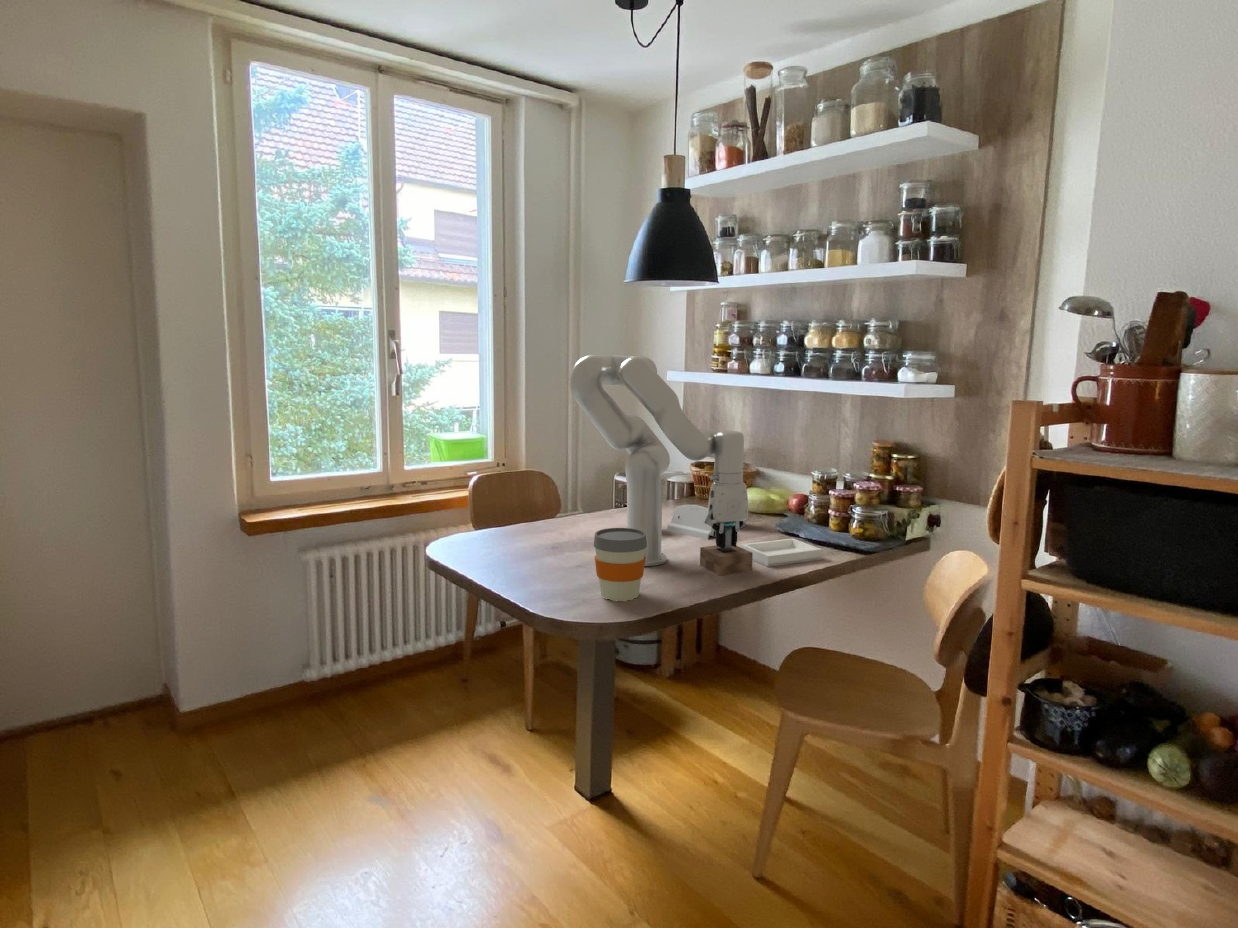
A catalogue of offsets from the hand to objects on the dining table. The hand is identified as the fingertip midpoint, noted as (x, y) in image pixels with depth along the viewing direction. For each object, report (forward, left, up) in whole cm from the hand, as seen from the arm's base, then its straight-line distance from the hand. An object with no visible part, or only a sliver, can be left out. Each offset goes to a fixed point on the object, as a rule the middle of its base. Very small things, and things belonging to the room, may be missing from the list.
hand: (726, 545), depth 199 cm
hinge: (+11, +37, -7) cm, 39 cm away
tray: (+20, +3, -6) cm, 21 cm away
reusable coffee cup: (-35, -9, -6) cm, 37 cm away
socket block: (0, 0, -6) cm, 6 cm away
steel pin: (0, 0, -6) cm, 6 cm away
